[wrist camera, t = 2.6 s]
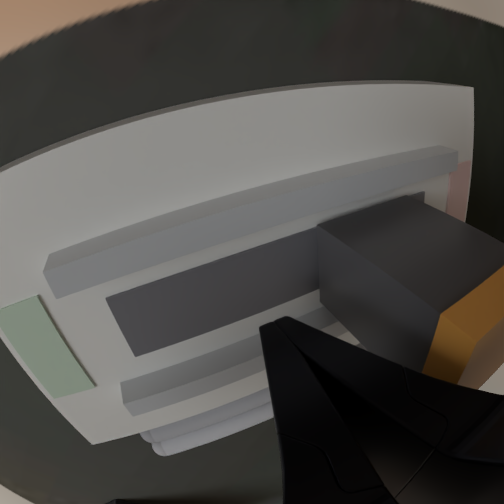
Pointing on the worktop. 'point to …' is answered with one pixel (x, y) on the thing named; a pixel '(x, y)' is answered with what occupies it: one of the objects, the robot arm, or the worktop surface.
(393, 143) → the breaker panel
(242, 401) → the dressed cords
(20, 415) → the worktop surface
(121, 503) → the ammunition clip
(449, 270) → the breaker lever
